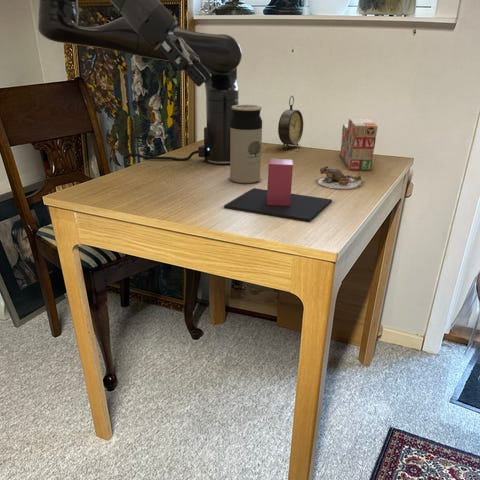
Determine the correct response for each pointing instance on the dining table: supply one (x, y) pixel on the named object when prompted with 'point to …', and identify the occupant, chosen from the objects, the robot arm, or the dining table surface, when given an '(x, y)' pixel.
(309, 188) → the dining table surface
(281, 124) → the alarm clock
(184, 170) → the dining table surface
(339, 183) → the frog figurine
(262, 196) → the mat
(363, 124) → the stack of blocks
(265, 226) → the dining table surface
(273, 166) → the block
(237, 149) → the travel mug
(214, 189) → the dining table surface
